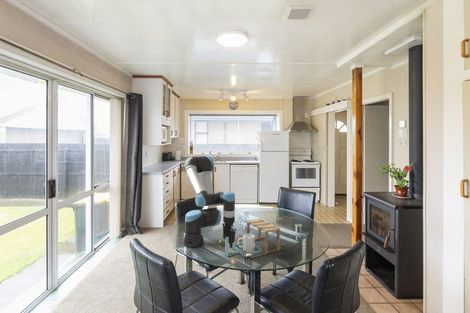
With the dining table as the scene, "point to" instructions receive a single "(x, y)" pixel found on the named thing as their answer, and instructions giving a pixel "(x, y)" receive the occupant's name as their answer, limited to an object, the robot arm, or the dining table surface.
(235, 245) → the sled
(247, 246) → the cup
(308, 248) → the dining table surface
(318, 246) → the dining table surface
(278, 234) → the wooden slat rack
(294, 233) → the dining table surface
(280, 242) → the pit
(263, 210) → the dining table surface
